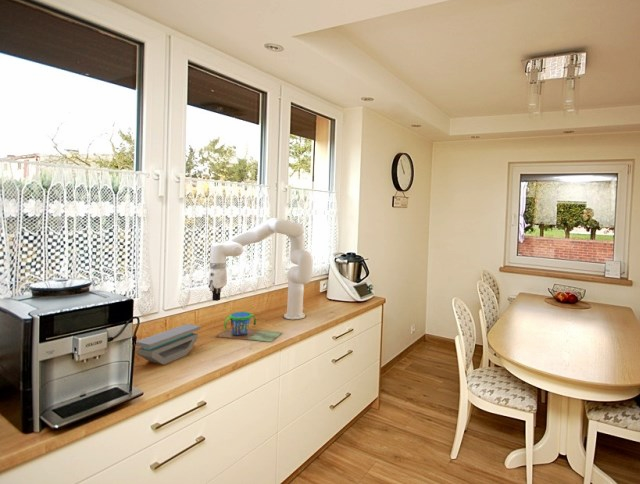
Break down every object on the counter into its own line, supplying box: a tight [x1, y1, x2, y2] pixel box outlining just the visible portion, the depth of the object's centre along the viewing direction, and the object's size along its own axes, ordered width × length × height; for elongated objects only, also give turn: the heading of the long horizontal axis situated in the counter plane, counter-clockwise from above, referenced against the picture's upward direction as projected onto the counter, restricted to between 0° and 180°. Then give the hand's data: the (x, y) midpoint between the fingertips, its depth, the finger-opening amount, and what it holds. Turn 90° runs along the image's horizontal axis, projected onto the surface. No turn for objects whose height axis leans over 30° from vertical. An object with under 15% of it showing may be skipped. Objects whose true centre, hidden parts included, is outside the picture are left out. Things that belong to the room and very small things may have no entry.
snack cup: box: [223, 311, 257, 335], centre depth 190 cm, size 16×10×10 cm
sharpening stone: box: [135, 323, 201, 366], centre depth 157 cm, size 25×8×11 cm, turn 164°
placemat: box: [216, 327, 282, 343], centre depth 190 cm, size 13×29×1 cm, turn 85°
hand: (216, 300), depth 191 cm, fingers closed
